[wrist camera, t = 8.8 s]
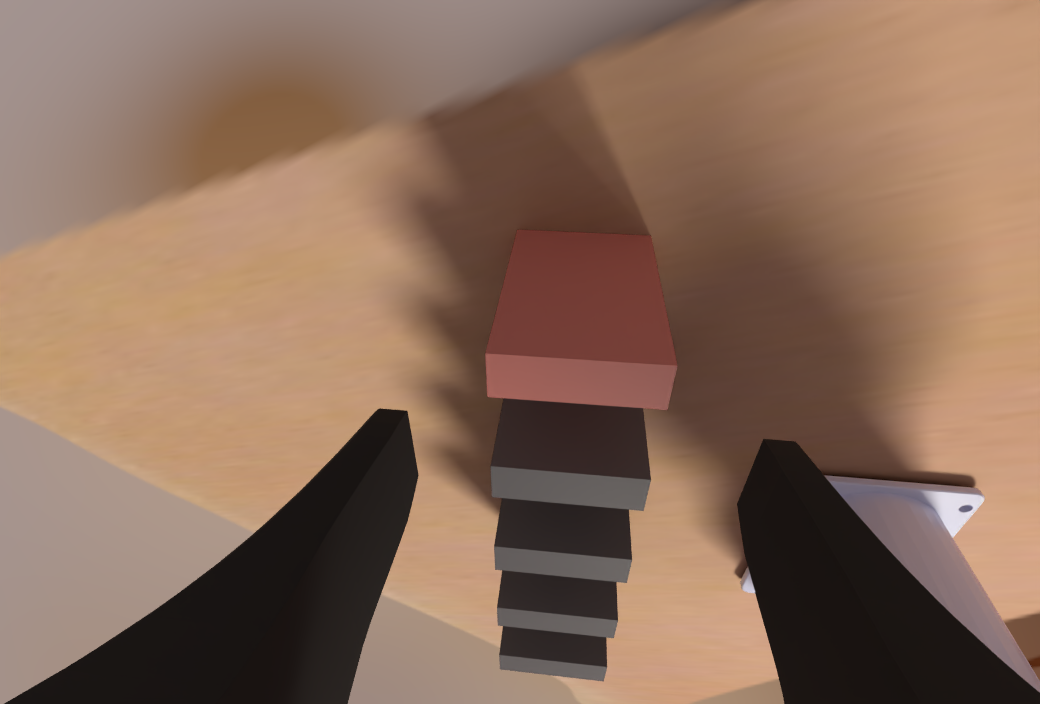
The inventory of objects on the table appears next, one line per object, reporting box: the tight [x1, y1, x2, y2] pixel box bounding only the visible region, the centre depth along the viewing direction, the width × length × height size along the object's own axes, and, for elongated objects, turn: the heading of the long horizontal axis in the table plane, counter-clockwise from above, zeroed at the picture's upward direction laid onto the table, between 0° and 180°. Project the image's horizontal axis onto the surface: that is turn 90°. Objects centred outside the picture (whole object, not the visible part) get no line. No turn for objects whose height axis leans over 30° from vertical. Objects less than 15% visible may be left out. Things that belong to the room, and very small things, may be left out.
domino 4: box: [499, 626, 607, 681], centre depth 25 cm, size 1×4×7 cm, turn 90°
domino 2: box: [494, 498, 632, 583], centre depth 21 cm, size 1×4×7 cm, turn 90°
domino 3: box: [497, 570, 618, 638], centre depth 23 cm, size 1×4×7 cm, turn 90°
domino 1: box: [491, 398, 651, 511], centre depth 18 cm, size 1×4×7 cm, turn 91°
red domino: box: [485, 230, 678, 410], centre depth 16 cm, size 1×4×7 cm, turn 90°
